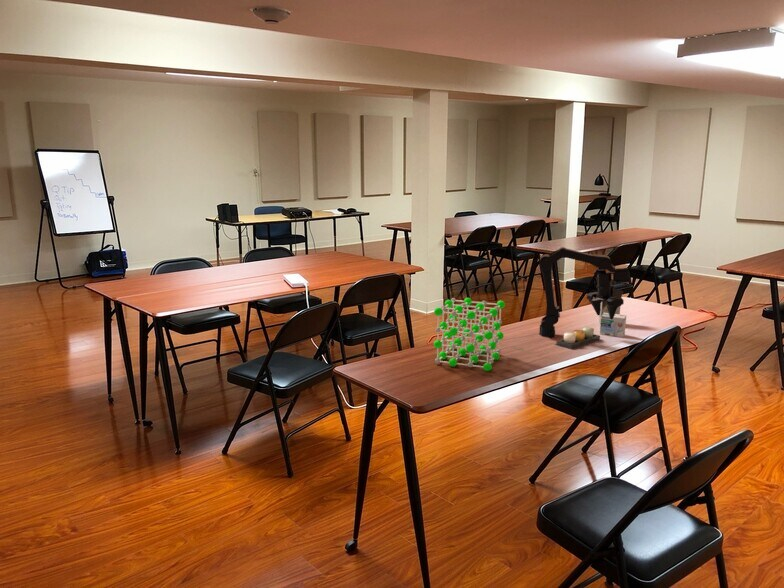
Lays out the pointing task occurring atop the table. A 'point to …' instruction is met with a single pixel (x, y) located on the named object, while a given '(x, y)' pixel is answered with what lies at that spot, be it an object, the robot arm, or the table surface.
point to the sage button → (588, 332)
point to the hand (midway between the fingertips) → (605, 317)
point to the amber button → (579, 335)
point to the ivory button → (569, 338)
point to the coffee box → (604, 309)
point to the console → (578, 342)
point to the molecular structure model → (469, 332)
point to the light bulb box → (613, 325)
